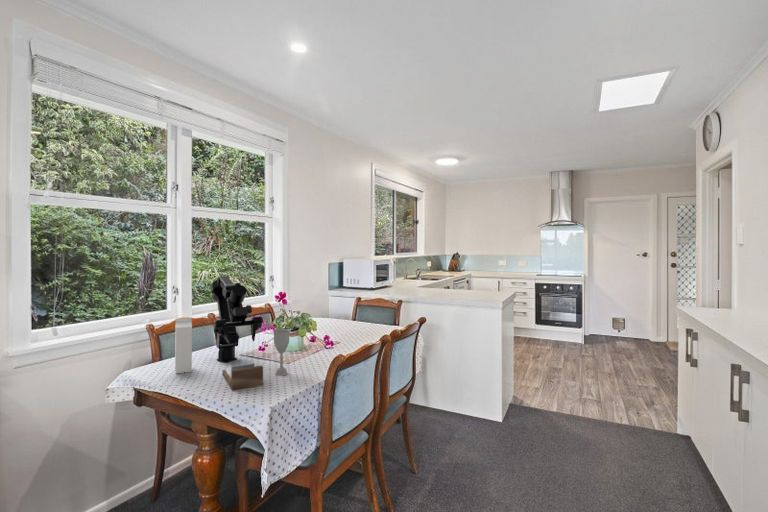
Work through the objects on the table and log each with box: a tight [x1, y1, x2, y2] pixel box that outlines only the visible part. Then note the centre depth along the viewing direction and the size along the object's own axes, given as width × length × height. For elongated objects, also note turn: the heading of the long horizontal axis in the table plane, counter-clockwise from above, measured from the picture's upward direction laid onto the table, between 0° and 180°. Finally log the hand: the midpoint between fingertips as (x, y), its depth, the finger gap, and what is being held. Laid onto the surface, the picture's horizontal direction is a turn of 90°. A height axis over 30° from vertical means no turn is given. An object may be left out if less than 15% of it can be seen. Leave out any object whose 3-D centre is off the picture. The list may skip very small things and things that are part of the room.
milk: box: [174, 317, 193, 374], centre depth 166 cm, size 6×6×22 cm
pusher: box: [230, 363, 255, 371], centre depth 154 cm, size 1×8×6 cm, turn 122°
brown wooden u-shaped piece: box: [221, 365, 264, 391], centre depth 156 cm, size 20×11×7 cm, turn 32°
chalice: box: [272, 328, 291, 377], centre depth 163 cm, size 7×7×18 cm
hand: (241, 342), depth 159 cm, fingers open, 9 cm apart
